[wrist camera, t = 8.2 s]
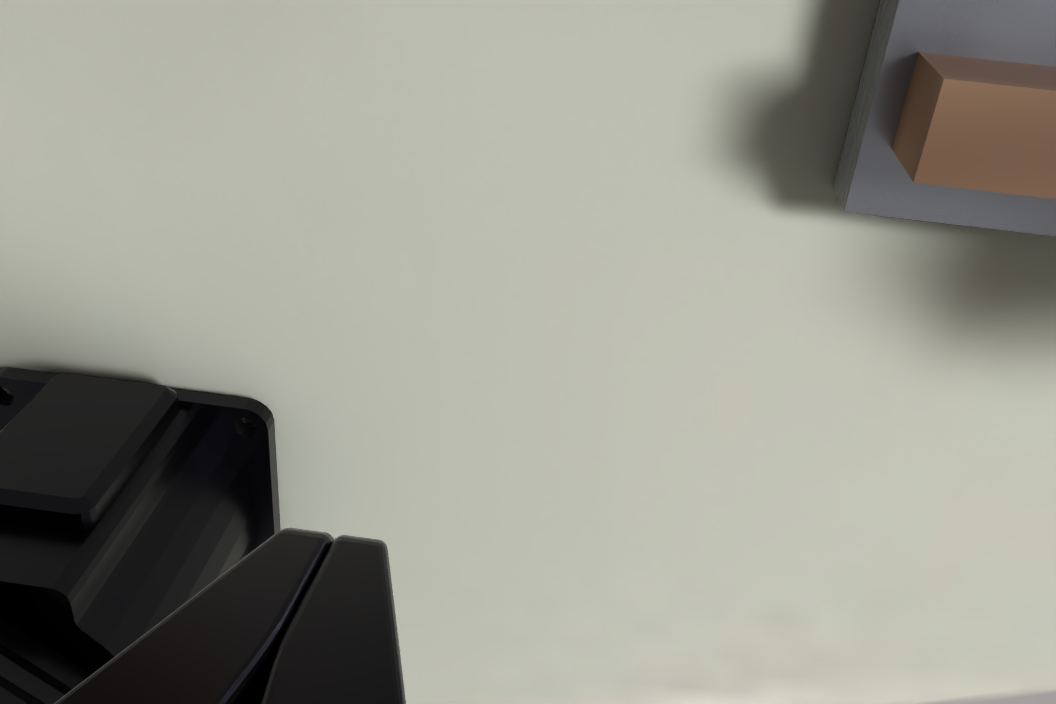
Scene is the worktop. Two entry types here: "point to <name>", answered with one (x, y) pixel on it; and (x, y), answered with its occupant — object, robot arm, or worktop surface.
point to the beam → (980, 125)
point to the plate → (898, 35)
